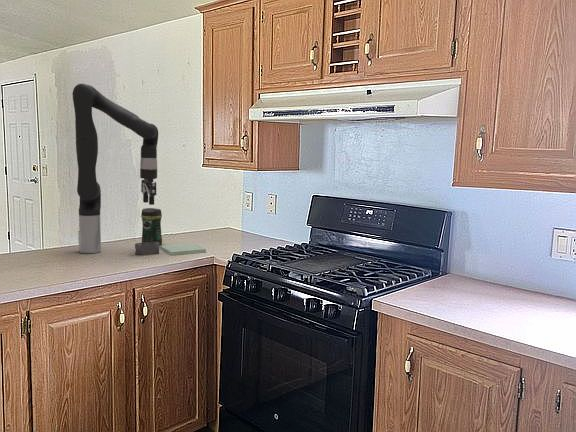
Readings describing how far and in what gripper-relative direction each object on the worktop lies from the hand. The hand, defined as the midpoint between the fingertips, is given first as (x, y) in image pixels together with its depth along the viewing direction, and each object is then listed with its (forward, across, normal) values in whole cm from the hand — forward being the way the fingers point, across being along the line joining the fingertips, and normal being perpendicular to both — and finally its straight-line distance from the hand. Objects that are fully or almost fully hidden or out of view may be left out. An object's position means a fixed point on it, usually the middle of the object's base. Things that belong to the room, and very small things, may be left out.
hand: (148, 203), depth 239 cm
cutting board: (+23, +1, +16) cm, 28 cm away
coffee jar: (+23, -18, +8) cm, 30 cm away
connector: (+23, +1, -2) cm, 23 cm away
